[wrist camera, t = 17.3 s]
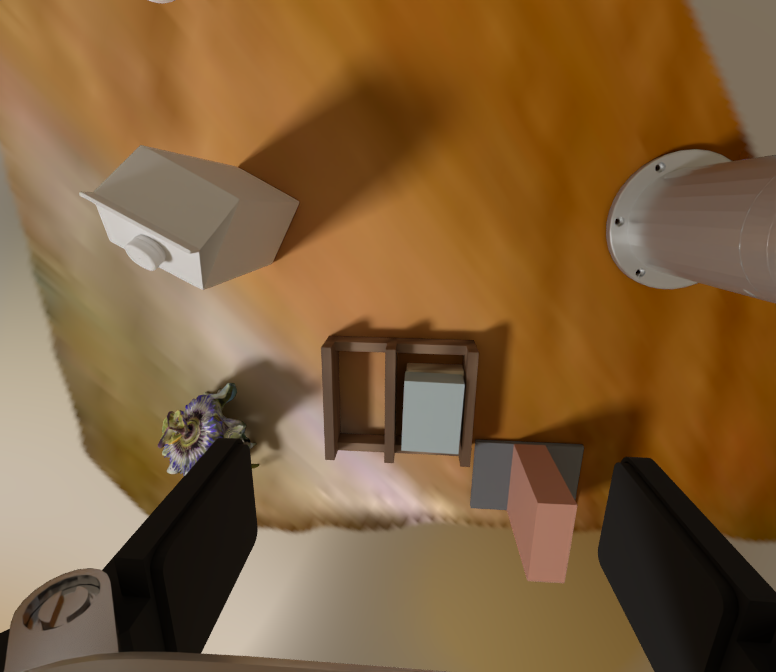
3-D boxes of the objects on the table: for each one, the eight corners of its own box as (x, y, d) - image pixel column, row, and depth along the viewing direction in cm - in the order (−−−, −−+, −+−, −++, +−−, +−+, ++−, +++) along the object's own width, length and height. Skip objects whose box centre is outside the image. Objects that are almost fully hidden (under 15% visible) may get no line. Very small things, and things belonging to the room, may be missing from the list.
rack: (473, 340, 45) (478, 352, 41) (465, 446, 49) (469, 466, 45) (329, 335, 46) (321, 347, 42) (332, 440, 50) (325, 459, 46)
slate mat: (582, 444, 48) (584, 447, 47) (571, 510, 50) (572, 513, 50) (475, 439, 48) (476, 442, 48) (470, 504, 51) (470, 507, 50)
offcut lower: (461, 363, 46) (463, 371, 44) (457, 427, 49) (459, 438, 46) (407, 361, 47) (406, 369, 44) (406, 425, 49) (405, 436, 47)
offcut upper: (462, 374, 44) (464, 384, 42) (456, 441, 46) (458, 454, 44) (405, 371, 44) (404, 380, 42) (402, 438, 47) (401, 450, 44)
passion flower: (229, 380, 55) (211, 361, 43) (290, 438, 54) (287, 434, 43) (157, 447, 51) (116, 445, 39) (221, 510, 50) (198, 526, 39)
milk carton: (236, 166, 41) (95, 133, 23) (300, 201, 42) (211, 197, 24) (211, 230, 44) (63, 247, 25) (272, 264, 44) (171, 303, 26)
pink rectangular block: (545, 445, 47) (577, 505, 38) (536, 511, 50) (564, 583, 40) (513, 443, 48) (537, 503, 38) (506, 510, 50) (527, 580, 41)
